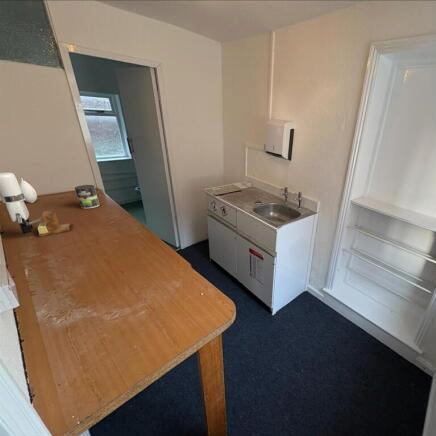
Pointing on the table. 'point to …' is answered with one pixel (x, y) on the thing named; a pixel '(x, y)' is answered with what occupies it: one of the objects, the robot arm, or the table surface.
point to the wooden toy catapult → (53, 224)
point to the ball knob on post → (35, 220)
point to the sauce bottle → (28, 192)
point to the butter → (42, 229)
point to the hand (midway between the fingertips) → (28, 230)
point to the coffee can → (87, 196)
